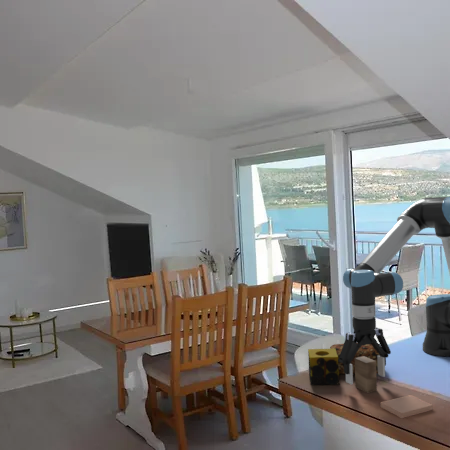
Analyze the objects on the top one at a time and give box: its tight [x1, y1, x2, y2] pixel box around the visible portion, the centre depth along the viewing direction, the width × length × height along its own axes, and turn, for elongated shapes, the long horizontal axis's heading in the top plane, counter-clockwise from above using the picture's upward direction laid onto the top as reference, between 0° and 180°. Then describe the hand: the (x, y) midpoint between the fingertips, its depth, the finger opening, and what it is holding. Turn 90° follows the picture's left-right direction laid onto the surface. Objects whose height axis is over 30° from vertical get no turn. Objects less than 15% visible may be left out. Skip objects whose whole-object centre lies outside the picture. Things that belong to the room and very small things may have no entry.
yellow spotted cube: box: [307, 348, 340, 386], centre depth 180 cm, size 10×10×10 cm
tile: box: [380, 394, 434, 419], centre depth 153 cm, size 12×2×9 cm
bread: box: [329, 343, 381, 375], centre depth 189 cm, size 19×11×10 cm, turn 82°
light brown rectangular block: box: [354, 356, 378, 394], centre depth 170 cm, size 4×6×10 cm, turn 24°
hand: (365, 379), depth 170 cm, fingers open, 13 cm apart
